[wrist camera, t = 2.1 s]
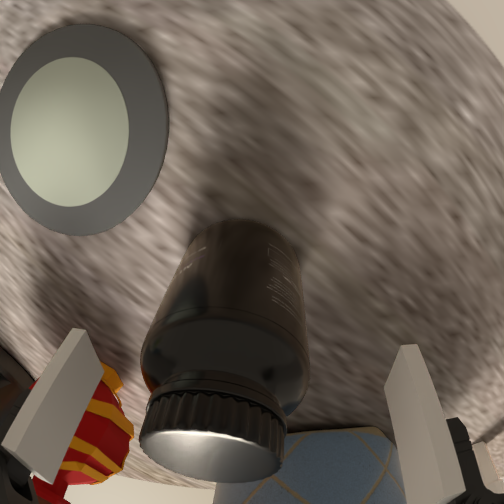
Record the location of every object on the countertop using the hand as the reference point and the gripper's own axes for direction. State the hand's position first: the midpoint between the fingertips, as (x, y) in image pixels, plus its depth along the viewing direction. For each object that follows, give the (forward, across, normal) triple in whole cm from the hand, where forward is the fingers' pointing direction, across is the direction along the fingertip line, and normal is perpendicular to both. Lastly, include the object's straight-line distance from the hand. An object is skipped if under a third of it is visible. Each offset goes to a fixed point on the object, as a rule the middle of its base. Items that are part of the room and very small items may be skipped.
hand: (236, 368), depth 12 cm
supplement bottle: (+8, -1, 0) cm, 8 cm away
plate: (+8, -11, +9) cm, 16 cm away
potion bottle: (+8, -15, -12) cm, 20 cm away
